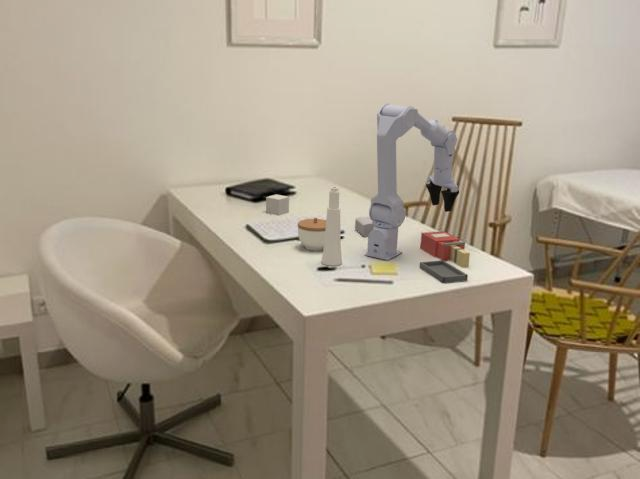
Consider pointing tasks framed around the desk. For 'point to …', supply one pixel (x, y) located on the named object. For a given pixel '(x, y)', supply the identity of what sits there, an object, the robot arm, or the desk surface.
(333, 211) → the cosmetic bottle
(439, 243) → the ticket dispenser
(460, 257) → the wooden blocks
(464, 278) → the ticket tray
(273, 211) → the light gray cube
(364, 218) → the charger
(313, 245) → the lidded jar
